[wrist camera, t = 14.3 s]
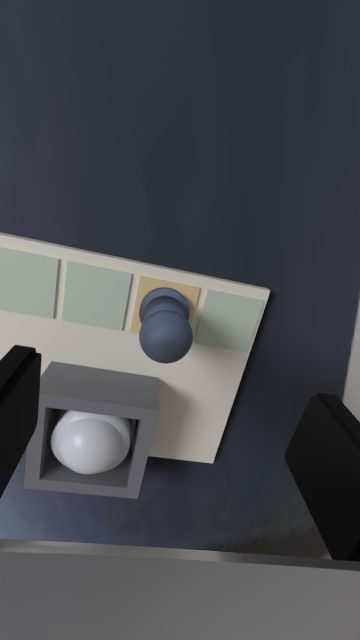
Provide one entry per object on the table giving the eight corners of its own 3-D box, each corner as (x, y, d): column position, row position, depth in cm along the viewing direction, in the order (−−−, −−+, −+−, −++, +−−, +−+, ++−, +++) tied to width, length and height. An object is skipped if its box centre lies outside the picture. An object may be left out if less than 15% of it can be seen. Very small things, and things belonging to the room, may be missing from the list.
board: (-89, 213, 20) (-102, 213, 19) (266, 288, 23) (271, 291, 22) (-74, 422, 25) (-83, 431, 24) (211, 456, 29) (213, 465, 28)
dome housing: (51, 360, 23) (30, 392, 19) (158, 377, 25) (158, 410, 21) (43, 445, 26) (24, 488, 22) (140, 456, 27) (137, 498, 23)
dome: (66, 383, 23) (45, 425, 19) (137, 393, 24) (133, 436, 20) (59, 440, 25) (39, 490, 21) (126, 447, 26) (120, 498, 22)
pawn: (144, 282, 21) (140, 311, 16) (193, 292, 22) (206, 324, 16) (135, 328, 23) (128, 371, 17) (182, 337, 23) (191, 381, 17)
